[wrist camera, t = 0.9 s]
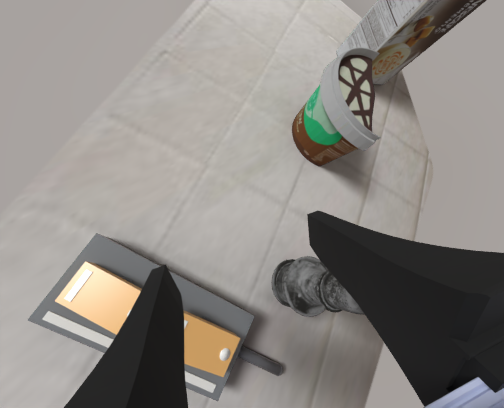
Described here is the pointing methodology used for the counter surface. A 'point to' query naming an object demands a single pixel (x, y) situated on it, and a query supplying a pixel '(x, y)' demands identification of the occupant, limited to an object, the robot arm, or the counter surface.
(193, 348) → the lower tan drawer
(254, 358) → the rocker switch panel
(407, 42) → the coffee box
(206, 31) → the counter surface
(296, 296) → the salt shaker
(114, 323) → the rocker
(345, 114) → the food container
